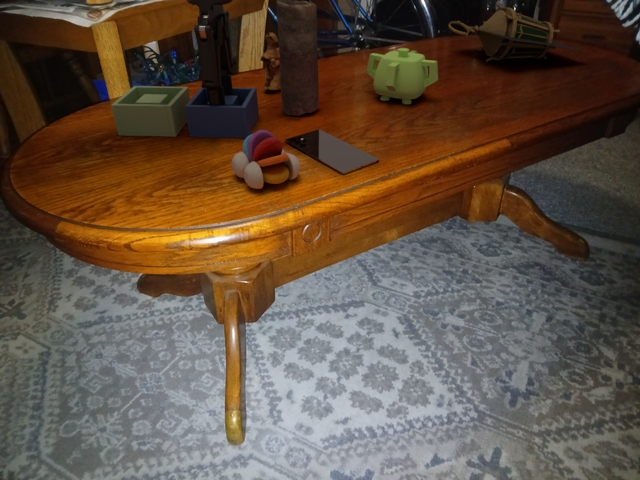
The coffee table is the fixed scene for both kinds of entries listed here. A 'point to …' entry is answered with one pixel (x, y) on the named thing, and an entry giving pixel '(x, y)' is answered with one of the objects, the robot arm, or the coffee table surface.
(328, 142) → the smartphone
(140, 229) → the coffee table surface
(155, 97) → the green block
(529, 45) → the lantern
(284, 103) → the candle
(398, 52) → the green lidded pot
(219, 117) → the blue bin
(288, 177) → the rainbow puzzle ball
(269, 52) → the figurine
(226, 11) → the robot arm
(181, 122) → the green bin
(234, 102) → the blue block
